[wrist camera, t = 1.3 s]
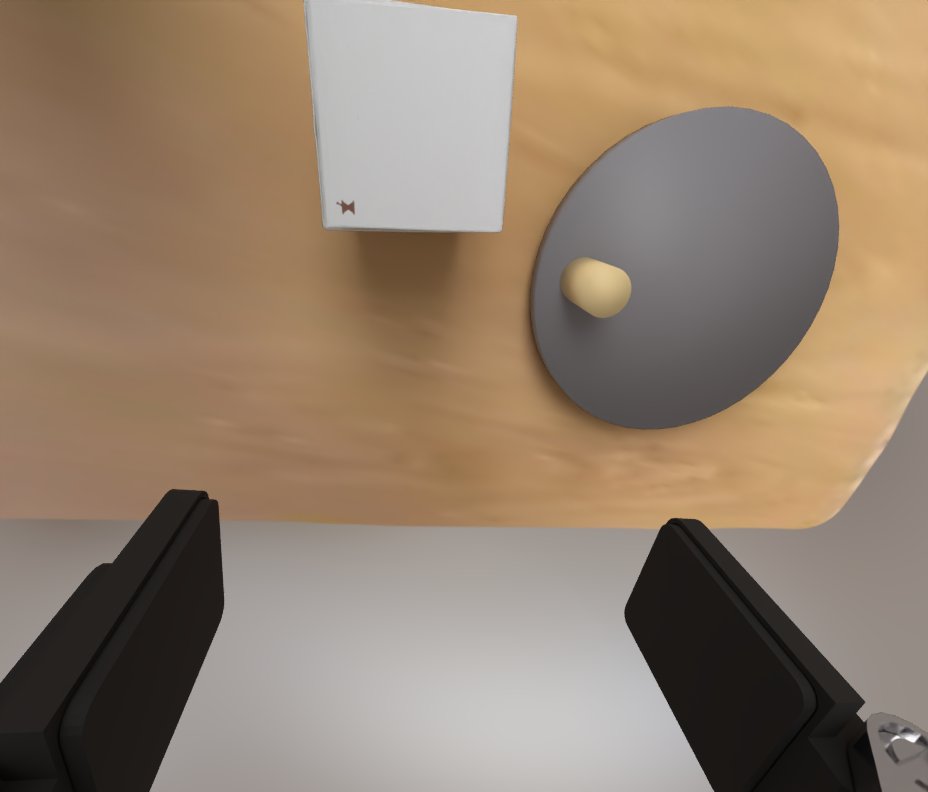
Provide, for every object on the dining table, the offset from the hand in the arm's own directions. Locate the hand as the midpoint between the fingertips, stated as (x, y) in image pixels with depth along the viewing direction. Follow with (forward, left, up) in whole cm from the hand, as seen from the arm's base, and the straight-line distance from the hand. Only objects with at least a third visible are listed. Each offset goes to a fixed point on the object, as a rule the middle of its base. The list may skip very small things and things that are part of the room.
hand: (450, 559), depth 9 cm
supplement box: (-9, -1, -25) cm, 26 cm away
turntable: (-3, +19, -24) cm, 31 cm away
